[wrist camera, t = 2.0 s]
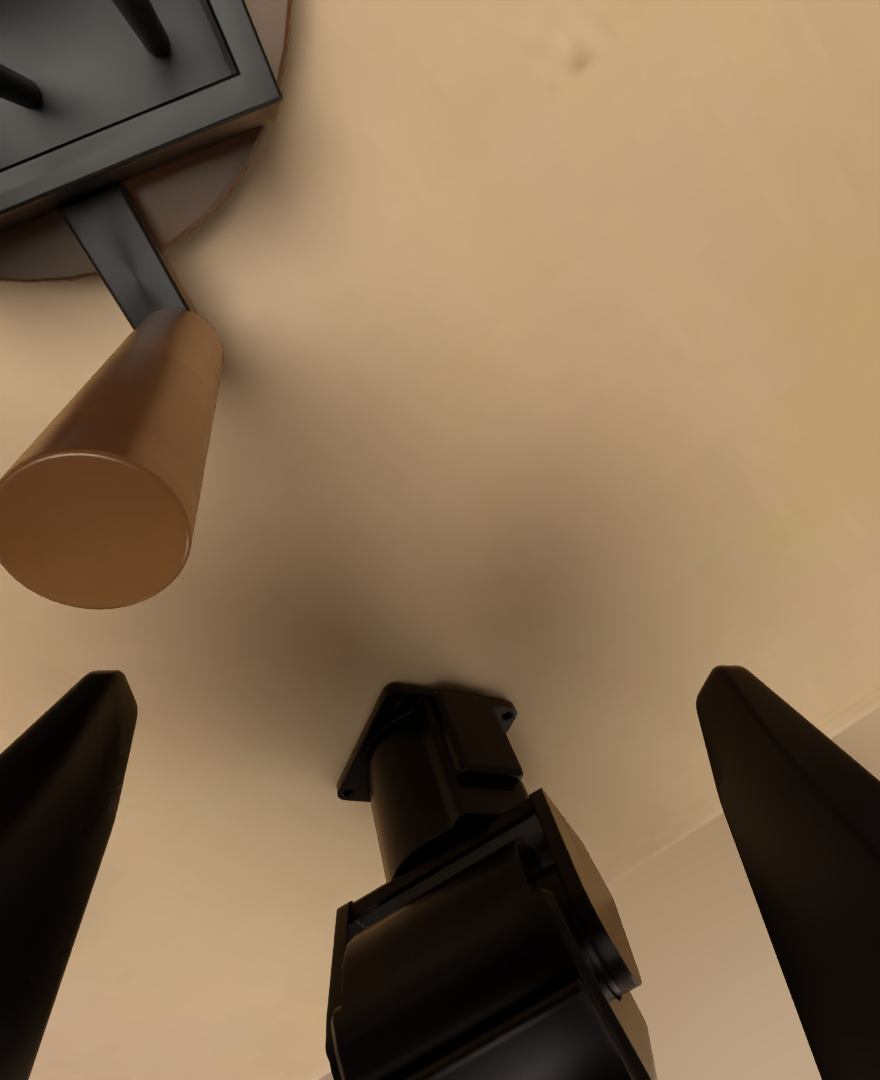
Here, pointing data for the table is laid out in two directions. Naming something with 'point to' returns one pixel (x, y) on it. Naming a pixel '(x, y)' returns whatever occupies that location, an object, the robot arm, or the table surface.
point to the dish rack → (119, 276)
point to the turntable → (153, 185)
